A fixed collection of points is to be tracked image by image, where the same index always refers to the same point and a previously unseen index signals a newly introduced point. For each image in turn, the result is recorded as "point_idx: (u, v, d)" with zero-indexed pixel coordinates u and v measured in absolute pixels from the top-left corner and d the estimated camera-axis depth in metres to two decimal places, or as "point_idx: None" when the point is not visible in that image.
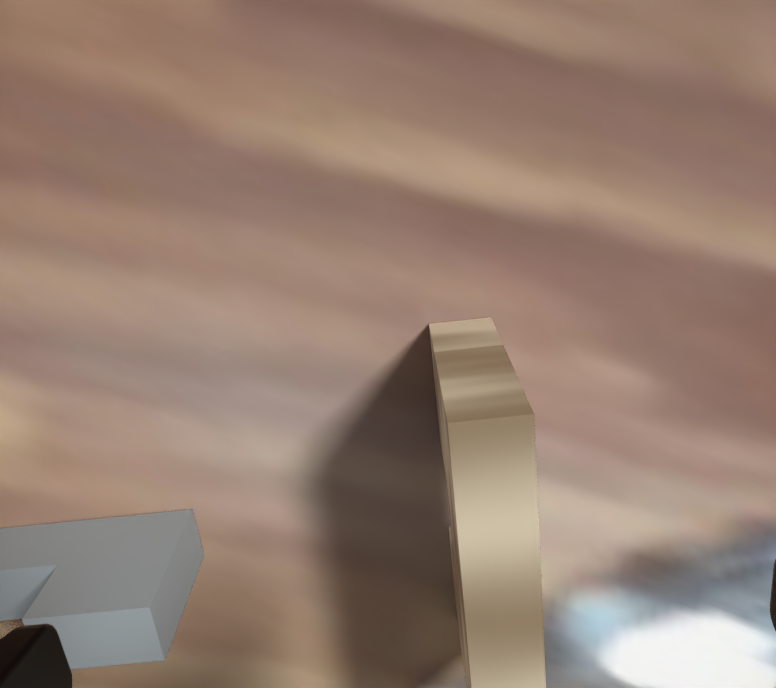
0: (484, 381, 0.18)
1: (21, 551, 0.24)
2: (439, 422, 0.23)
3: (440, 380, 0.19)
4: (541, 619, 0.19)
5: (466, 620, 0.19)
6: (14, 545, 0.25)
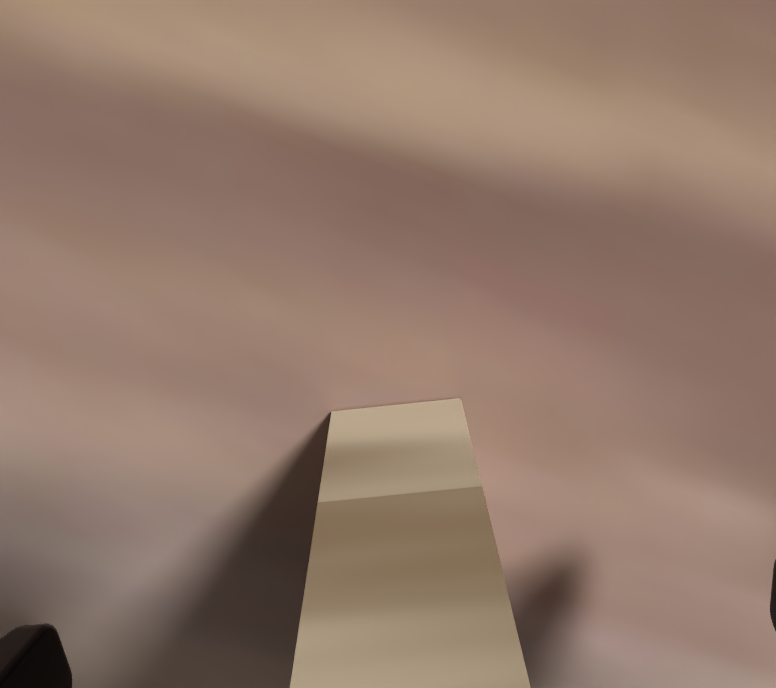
0: (420, 642, 0.06)
1: None
2: None
3: (301, 623, 0.07)
4: None
5: None
6: None
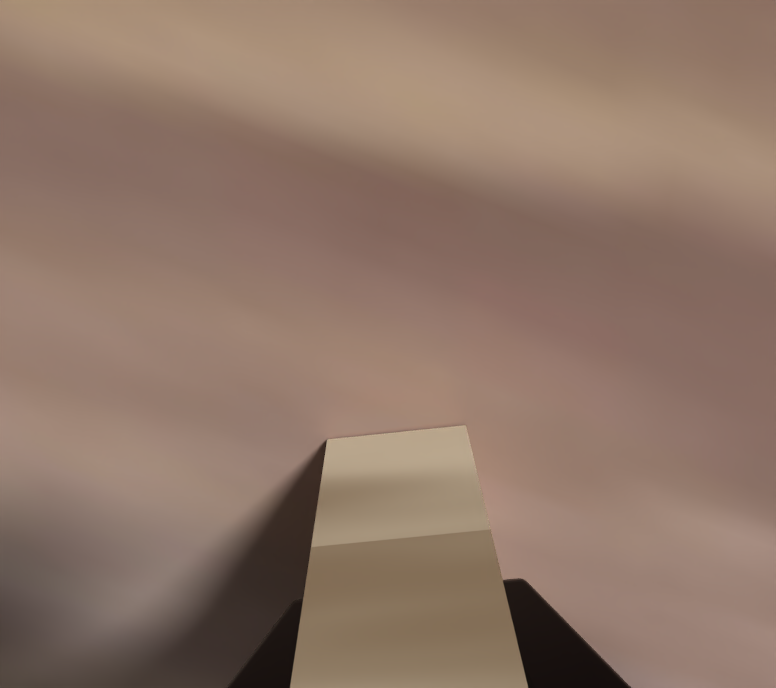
0: None
1: None
2: None
3: None
4: None
5: None
6: None
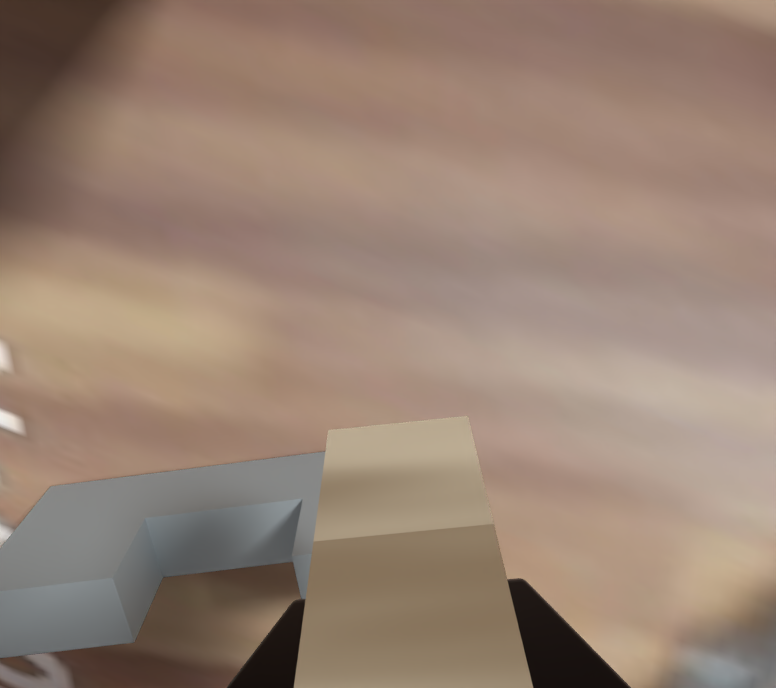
0: None
1: (249, 487, 0.20)
2: None
3: None
4: None
5: None
6: (236, 482, 0.21)
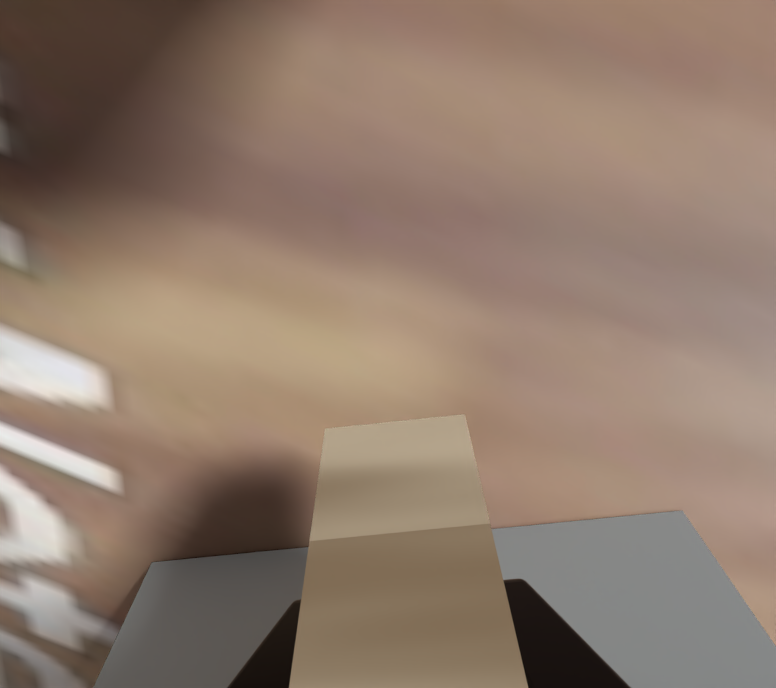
0: None
1: None
2: None
3: None
4: None
5: None
6: None
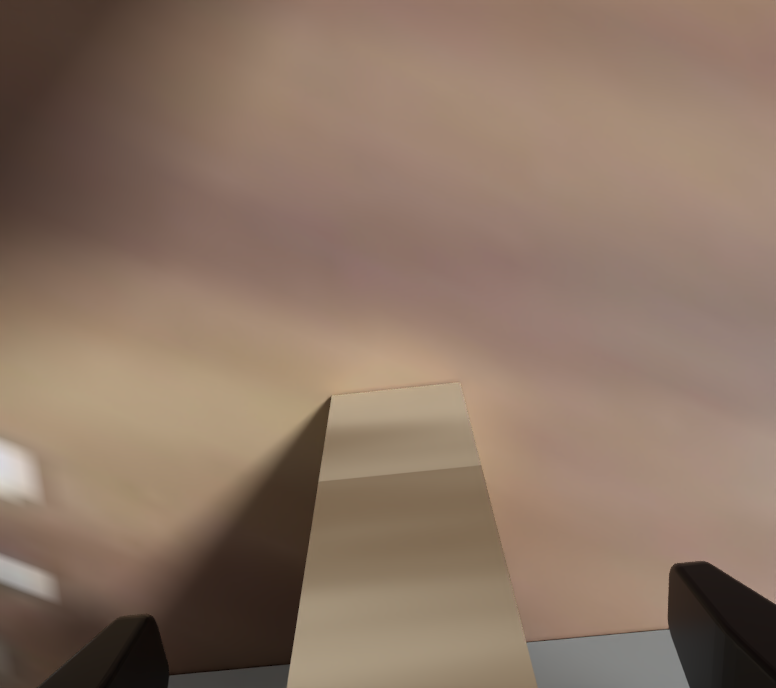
0: (421, 612, 0.06)
1: None
2: None
3: (303, 595, 0.07)
4: None
5: None
6: None
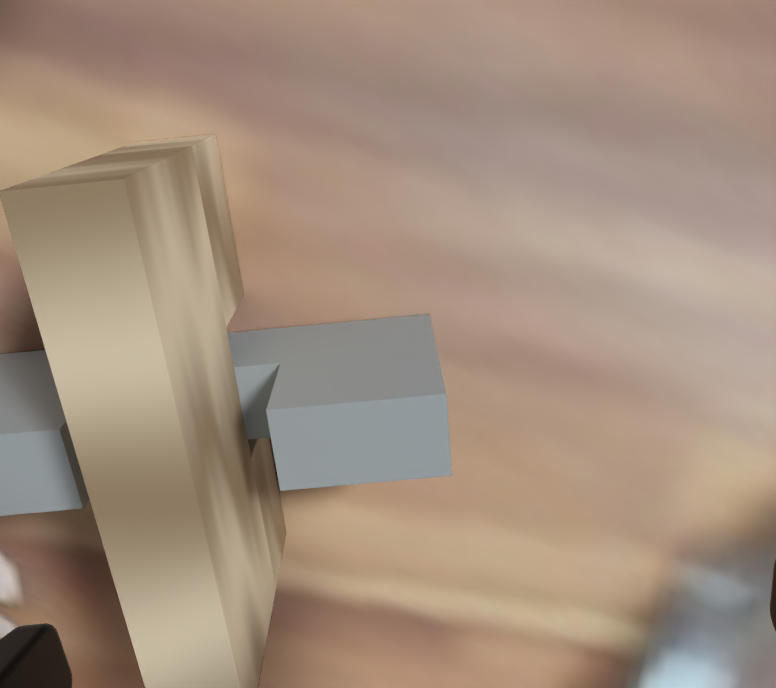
0: (113, 165, 0.13)
1: None
2: None
3: (63, 169, 0.14)
4: (194, 498, 0.13)
5: (90, 498, 0.13)
6: None
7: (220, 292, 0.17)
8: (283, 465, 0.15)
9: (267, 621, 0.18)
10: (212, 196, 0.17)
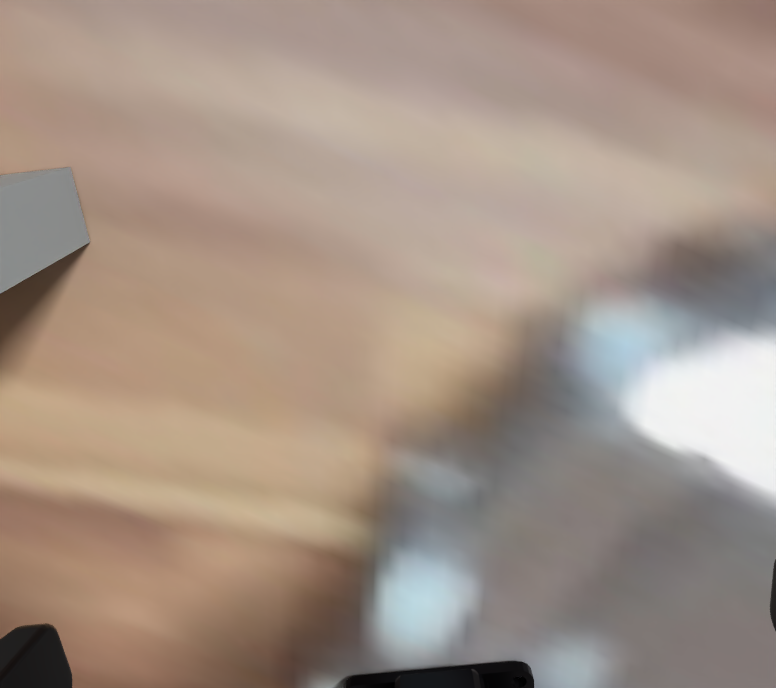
0: None
1: None
2: None
3: None
4: None
5: None
6: None
7: None
8: None
9: None
10: None
